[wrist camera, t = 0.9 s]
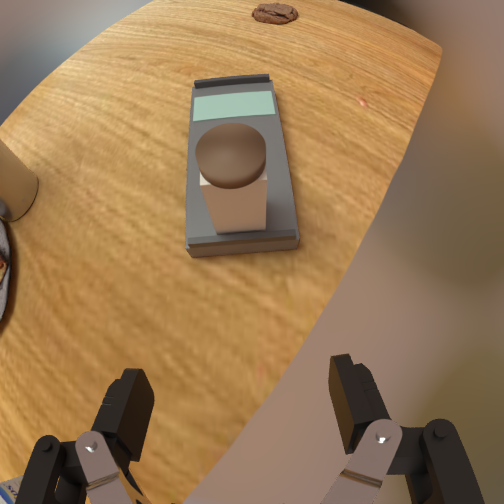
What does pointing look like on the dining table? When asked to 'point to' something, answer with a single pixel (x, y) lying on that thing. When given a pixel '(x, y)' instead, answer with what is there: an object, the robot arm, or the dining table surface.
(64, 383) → the dining table surface
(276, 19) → the cookie
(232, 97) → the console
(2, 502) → the medicine box
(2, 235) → the food plate
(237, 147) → the brown piece
